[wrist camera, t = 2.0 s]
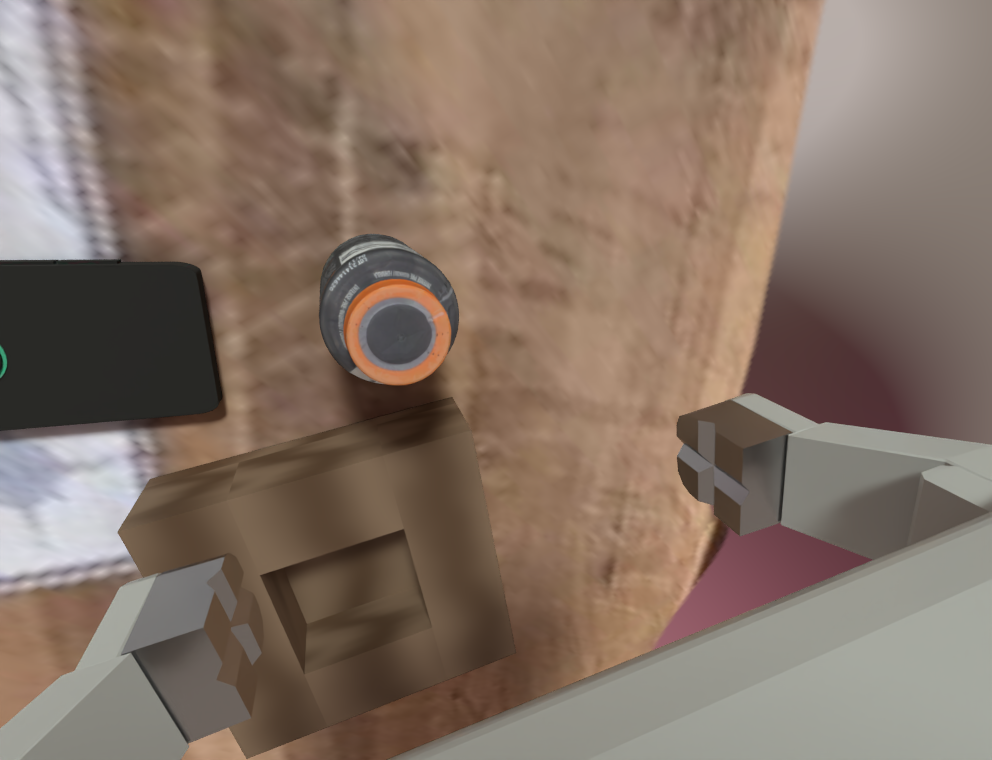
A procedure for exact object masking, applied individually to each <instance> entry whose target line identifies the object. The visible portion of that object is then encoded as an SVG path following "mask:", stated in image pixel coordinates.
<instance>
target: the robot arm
mask: <svg viewBox="0 0 992 760" xmlns="http://www.w3.org/2000/svg"><path fill="white" fill-rule="evenodd" d="M677 437H678V438H679V439H680V440H681V441H682V442H683V443H684V444H683V446H682V448H681V450H680V452H679V454H678V455H677V462H678V472H679V475H680V477H681V480H682V482H683V485H684V486H685V487H686V489H687V490H688V492H689V493H690V494H691V495H692V496H693V497H694V498H696V499H697V500H698V501H700V502H704V503H707V504H711V505H713V506H714V515H715V516H716V517H718V518H719V519H720V520H721V521H722V522H724V523H725V524H726V525H727V526H728V527H729V528H731V529H732V530H733V531H734V532H735V533H737V534H738V535H739V536H742V535H745V534H748V533H751V532H754V531H757V530H760V529H763V528H766V527H769V526H772V525H775V524H778V523H781V525H783V526H786V527H788V528H791V529H794V530H796V531H799V532H802V533H804V534H807V535H810V536H812V537H815V538H817V539H820V540H823V541H825V542H828V543H831V544H833V545H836V546H838V547H841V548H844V549H846V550H849V551H852V552H854V553H857V554H860V555H862V556H865V557H867V558H870V559H873V561H870V562H868V563H865V564H863V565H860V566H858V567H856V568H854V569H851V570H849V571H846V572H843V573H841V574H839V575H836V576H834V577H831V578H829V579H826V580H824V581H822V582H819V583H817V584H814V585H812V586H809V587H807V588H804V589H802V590H799V591H797V592H794V593H792V594H790V595H787V596H785V597H782V598H780V599H777V600H775V601H772V602H770V603H768V604H765V605H763V606H760V607H758V608H756V609H753V610H750V611H748V612H746V613H743V614H741V615H738V616H736V617H733V618H731V619H728V620H726V621H723V622H721V623H718V624H716V625H714V626H711V627H709V628H706V629H704V630H701V631H699V632H696V633H694V634H691V635H689V636H687V637H684V638H682V639H679V640H677V641H674V642H672V643H669V644H667V645H665V646H662V647H660V648H657V649H655V650H652V651H650V652H648V653H645V654H643V655H640V656H638V657H635V658H633V659H630V660H628V661H626V662H623V663H621V664H618V665H616V666H613V667H611V668H609V669H606V670H604V671H601V672H599V673H596V674H594V675H592V676H589V677H587V678H584V679H582V680H579V681H577V682H574V683H572V684H570V685H567V686H565V687H562V688H560V689H557V690H555V691H553V692H550V693H548V694H545V695H543V696H540V697H538V698H535V699H533V700H531V701H528V702H526V703H523V704H521V705H518V706H516V707H514V708H511V709H509V710H506V711H504V712H501V713H499V714H497V715H494V716H492V717H489V718H487V719H484V720H482V721H479V722H477V723H475V724H472V725H470V726H467V727H465V728H462V729H460V730H458V731H455V732H453V733H450V734H448V735H445V736H443V737H440V738H438V739H436V740H433V741H431V742H428V743H426V744H423V745H421V746H419V747H416V748H414V749H411V750H409V751H406V752H404V753H401V754H399V755H397V756H394V757H392V758H389V759H387V760H992V445H989V444H981V443H974V442H966V441H959V440H952V439H945V438H937V437H930V436H923V435H915V434H908V433H901V432H893V431H886V430H878V429H870V428H864V427H856V426H848V425H842V424H834V423H827V422H826V423H823V424H817V423H815V422H813V421H811V420H809V419H806V418H804V417H802V416H800V415H798V414H796V413H794V412H792V411H790V410H788V409H786V408H784V407H781V406H779V405H777V404H775V403H773V402H771V401H769V400H767V399H765V398H763V397H761V396H759V395H757V394H749V393H747V394H744V395H741V396H738V397H735V398H732V399H729V400H726V401H724V402H721V403H718V404H715V405H712V406H709V407H706V408H703V409H700V410H697V411H694V412H691V413H688V414H685V415H682V416H679V419H678V422H677ZM243 575H244V571H243V569H242V567H241V565H240V564H239V562H238V560H237V558H236V556H234V555H232V554H231V553H227V554H224V555H220V556H217V557H213V558H210V559H206V560H203V561H199V562H196V563H192V564H189V565H185V566H182V567H178V568H175V569H171V570H168V571H164V572H163V573H157V574H154V575H150V576H147V577H144V578H141V579H138V580H135V581H131V582H128V583H127V584H125V585H123V586H122V587H120V589H119V590H118V592H117V594H116V596H115V598H114V599H113V601H112V603H111V605H110V607H109V609H108V610H107V612H106V614H105V616H104V618H103V620H102V621H101V623H100V625H99V627H98V629H97V631H96V632H95V634H94V636H93V638H92V640H91V642H90V644H89V645H88V647H87V649H86V651H85V653H84V655H83V656H82V658H81V660H80V662H79V664H78V666H77V667H76V669H75V671H74V672H71V673H68V674H65V675H62V676H61V677H59V678H58V679H57V680H56V681H55V682H54V683H53V684H51V685H50V686H49V687H48V688H47V689H46V690H44V691H43V692H42V693H41V694H40V695H39V696H38V697H36V698H35V699H34V700H33V701H32V702H31V703H29V704H28V705H27V706H26V707H25V708H24V709H22V710H21V711H20V712H19V713H18V714H17V715H16V716H14V717H13V718H12V719H11V720H10V721H9V722H7V723H6V724H5V725H4V726H3V727H2V728H1V729H0V760H181V758H182V757H183V755H184V754H185V752H186V751H187V749H188V748H189V745H188V743H191V742H193V741H196V740H198V739H200V738H203V737H205V736H208V735H210V734H213V733H215V732H218V731H220V730H223V729H225V728H228V727H230V726H233V725H235V724H238V723H240V722H243V721H245V720H248V719H250V718H252V712H253V706H254V699H255V693H256V687H257V681H258V677H257V675H256V673H255V671H254V668H253V666H252V665H253V664H254V662H255V661H256V660H257V659H258V657H259V656H260V655H261V653H262V648H263V640H264V632H263V619H262V615H261V611H260V608H259V604H258V602H257V600H256V597H255V595H254V593H252V592H250V591H248V590H246V589H244V588H242V587H241V583H242V579H243Z"/></svg>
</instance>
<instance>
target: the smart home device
mask: <svg viewBox="0 0 992 760" xmlns="http://www.w3.org/2000/svg"><path fill="white" fill-rule="evenodd" d="M221 399H222V392H221V386H220V380H219V374H218V369H217V363H216V357H215V351H214V345H213V339H212V333H211V327H210V322H209V316H208V310H207V304H206V298H205V292H204V286H203V280H202V275H201V270H200V269H199V268H198V267H196V266H194V265H191V264H188V263H182V262H121V259H120V260H59V261H58V260H0V431H3V430H15V429H26V428H38V427H50V426H62V425H74V424H86V423H98V422H110V421H122V420H134V419H146V418H157V417H169V416H181V415H193V414H201V413H206V412H209V411H212V410H214V409H215V408H216V407H217V406H218V405H219V403H220V401H221Z"/></svg>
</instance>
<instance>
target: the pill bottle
mask: <svg viewBox="0 0 992 760" xmlns="http://www.w3.org/2000/svg"><path fill="white" fill-rule="evenodd" d="M319 319H320V329H321V333H322V337H323V340H324V342H325V344H326V346H327V348H328V350H329V351H330V353H331V355H332V356H333V357H334V359H335V360H336V361H337V362H338V363H339V364H340V365H341V366H342V367H343V368H344V369H346V370H347V371H348V372H350V373H352V374H353V375H355V376H357V377H359V378H361V379H364V380H367V381H370V382H374V383H379V384H387V385H409V384H413V383H415V382H418V381H421V380H423V379H425V378H426V377H428V376H429V375H431V374H432V373H433V372H434V371H435V370H436V369H437V368H438V367H439V366H440V365H441V364H442V362H443V361H444V359H445V357H446V355H447V354H448V352H449V351H450V349H451V347H452V345H453V343H454V340H455V337H456V334H457V330H458V323H459V309H458V303H457V299H456V295H455V293H454V290H453V288H452V287H451V284H450V282H449V281H448V280H447V278H446V277H445V275H444V274H443V273H442V272H441V271H440V270H439V269H438V268H437V267H436V266H435V265H434V264H432V263H431V262H430V261H428V260H427V259H425V258H424V257H423V256H421V255H420V254H418V253H417V252H415V251H414V250H413V249H411V248H410V247H408V246H407V245H406V244H404V243H403V242H401V241H399V240H397V239H395V238H393V237H390V236H385V235H380V234H365V235H360V236H356V237H354V238H351V239H349V240H347V241H346V242H344V243H342V244H341V245H340V246H338V247H337V248H336V249H335V250H334V251H333V252H332V254H331V255H330V257H329V258H328V260H327V262H326V264H325V266H324V268H323V272H322V276H321V284H320V310H319Z"/></svg>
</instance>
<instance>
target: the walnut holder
mask: <svg viewBox="0 0 992 760" xmlns="http://www.w3.org/2000/svg"><path fill="white" fill-rule="evenodd" d="M118 534H119V536H120V537H121V539H122V541H123V543H124V544H125V546H126V548H127V550H128V551H129V553H130V555H131V557H132V558H133V560H134V562H135V564H136V565H137V567H138V569H139V571H140V572H141V574H142V576H143V578H144V577H147V576H150V575H154V574H157V573H163V572H164V571H168V570H171V569H175V568H178V567H182V566H185V565H189V564H192V563H196V562H199V561H203V560H206V559H210V558H213V557H217V556H220V555H224V554H227V553H231V554H232V555H234V556H236V558H237V560H238V562H239V564H240V565H241V567H242V569H243V571H244V575H243V579H242V583H241V587H242V588H244V589H246V590H248V591H250V592H252V593H254V595H255V597H256V600H257V602H258V604H259V608H260V611H261V615H262V619H263V632H264V640H263V648H262V653H261V655H260V656H259V657H258V659H257V660H256V661H255V662H254V664H253V665H252V666H253V668H254V671H255V673H256V675H257V677H258V681H257V687H256V693H255V699H254V706H253V712H252V718H250V719H248V720H245V721H243V722H240V723H238V724H235V725H233V726H230V727H229V729H230V730H231V732H232V734H233V736H234V737H235V739H236V741H237V743H238V744H239V746H240V748H241V750H242V752H243V753H244V755H245V757H246V759H248V758H250V757H253V756H255V755H258V754H261V753H263V752H266V751H268V750H271V749H273V748H276V747H278V746H281V745H283V744H286V743H289V742H291V741H294V740H296V739H299V738H301V737H304V736H306V735H309V734H311V733H314V732H316V731H319V730H322V729H324V728H327V727H329V726H332V725H334V724H337V723H339V722H342V721H344V720H347V719H350V718H352V717H355V716H357V715H360V714H362V713H365V712H367V711H370V710H372V709H375V708H378V707H380V706H383V705H385V704H388V703H390V702H393V701H395V700H398V699H400V698H403V697H405V696H408V695H411V694H413V693H416V692H418V691H421V690H423V689H426V688H428V687H431V686H433V685H436V684H439V683H441V682H444V681H446V680H449V679H451V678H454V677H456V676H459V675H461V674H464V673H467V672H469V671H472V670H474V669H477V668H479V667H482V666H484V665H487V664H489V663H492V662H494V661H497V660H500V659H502V658H505V657H507V656H510V655H512V654H515V653H516V650H515V645H514V640H513V635H512V630H511V625H510V620H509V615H508V610H507V605H506V600H505V595H504V590H503V585H502V580H501V575H500V570H499V565H498V560H497V555H496V550H495V545H494V540H493V535H492V530H491V525H490V520H489V515H488V510H487V505H486V500H485V495H484V490H483V485H482V480H481V475H480V470H479V465H478V461H477V456H476V451H475V446H474V441H473V436H472V431H471V429H470V427H469V425H468V423H467V422H466V420H465V418H464V417H463V415H462V413H461V411H460V410H459V408H458V406H457V405H456V403H455V401H454V399H453V398H452V397H451V398H447V399H443V400H440V401H436V402H432V403H429V404H425V405H421V406H418V407H414V408H410V409H407V410H403V411H399V412H396V413H392V414H388V415H384V416H381V417H377V418H373V419H370V420H366V421H362V422H359V423H355V424H351V425H348V426H344V427H340V428H337V429H333V430H329V431H326V432H322V433H318V434H314V435H311V436H307V437H303V438H300V439H296V440H292V441H289V442H285V443H281V444H278V445H274V446H270V447H267V448H263V449H259V450H256V451H252V452H248V453H244V454H241V455H237V456H233V457H230V458H226V459H222V460H219V461H215V462H211V463H208V464H204V465H200V466H197V467H193V468H189V469H186V470H182V471H178V472H174V473H171V474H167V475H163V476H160V477H156V478H152V479H150V480H149V482H148V483H147V485H146V486H145V488H144V490H143V491H142V493H141V495H140V496H139V498H138V500H137V501H136V503H135V504H134V506H133V508H132V509H131V511H130V513H129V514H128V516H127V517H126V519H125V521H124V522H123V524H122V526H121V527H120V529H119V530H118Z"/></svg>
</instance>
